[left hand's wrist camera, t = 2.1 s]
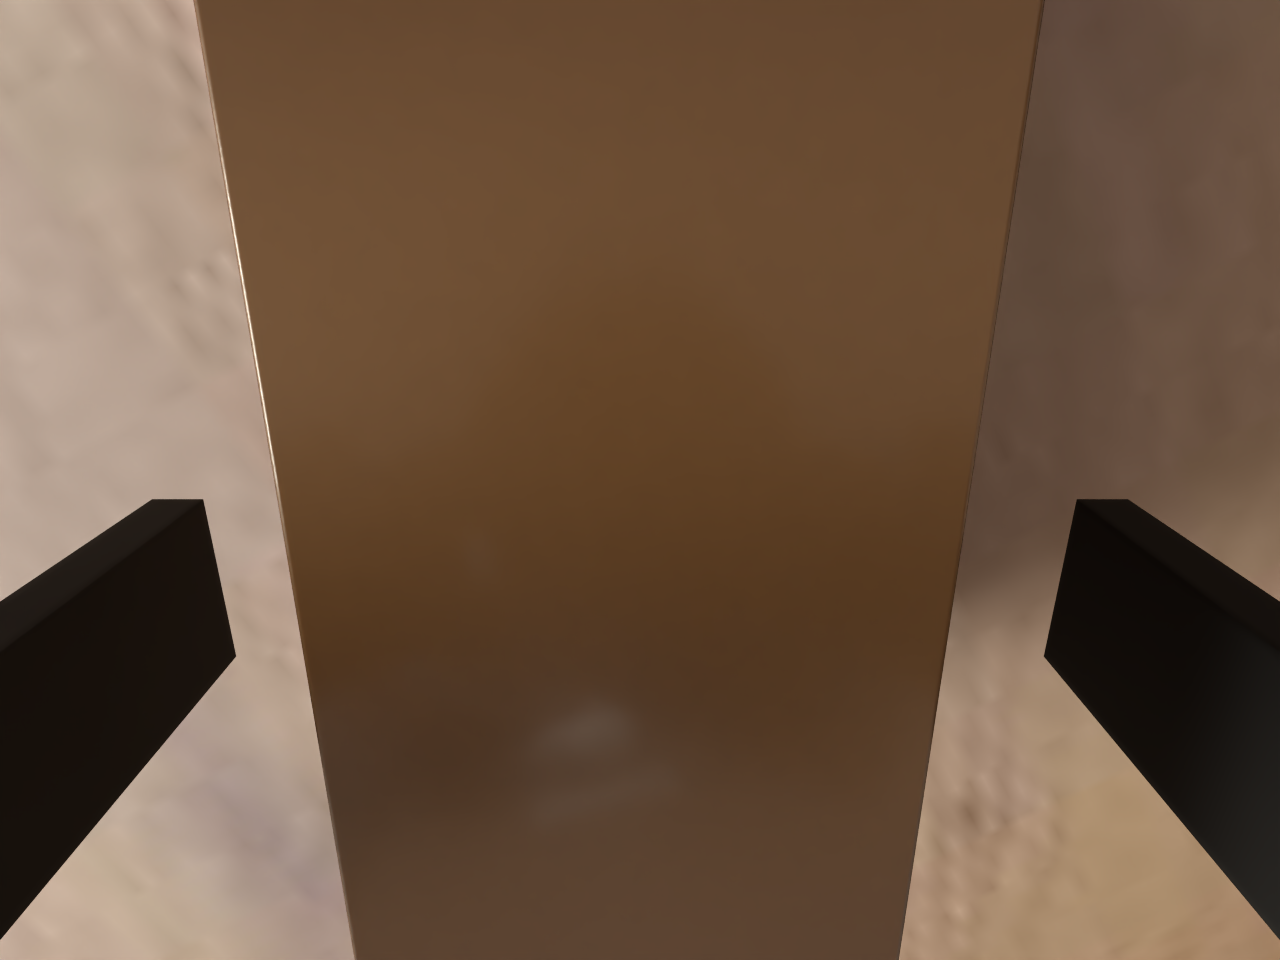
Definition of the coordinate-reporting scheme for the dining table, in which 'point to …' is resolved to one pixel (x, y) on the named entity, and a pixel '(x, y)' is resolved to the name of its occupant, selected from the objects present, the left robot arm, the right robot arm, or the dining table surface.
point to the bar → (622, 444)
